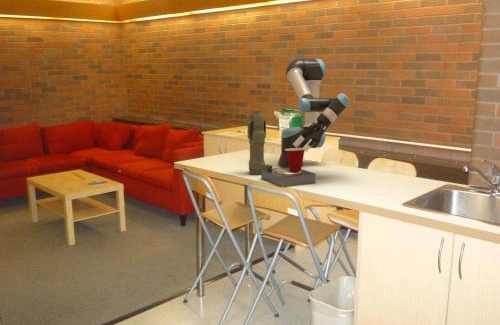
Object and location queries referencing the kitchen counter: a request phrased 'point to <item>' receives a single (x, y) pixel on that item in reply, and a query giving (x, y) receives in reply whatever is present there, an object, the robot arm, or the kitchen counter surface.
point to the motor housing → (287, 176)
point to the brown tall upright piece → (256, 142)
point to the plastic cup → (295, 158)
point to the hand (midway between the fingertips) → (299, 148)
